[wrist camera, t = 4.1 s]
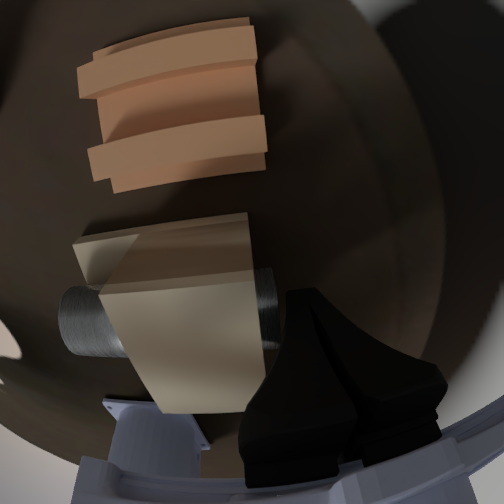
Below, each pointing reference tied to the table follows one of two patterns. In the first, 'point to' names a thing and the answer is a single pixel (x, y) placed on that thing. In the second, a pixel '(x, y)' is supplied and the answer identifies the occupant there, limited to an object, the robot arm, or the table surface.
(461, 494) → the robot arm
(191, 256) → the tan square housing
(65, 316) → the axle
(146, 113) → the cradle
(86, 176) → the table surface
